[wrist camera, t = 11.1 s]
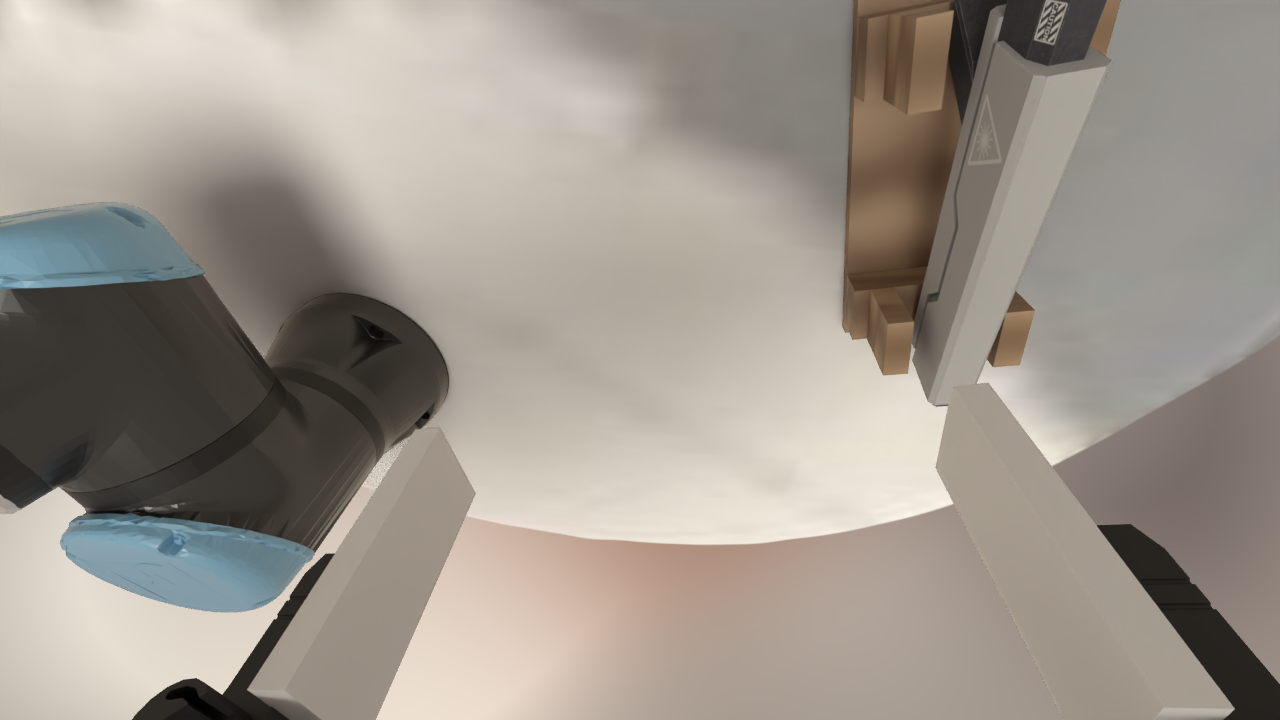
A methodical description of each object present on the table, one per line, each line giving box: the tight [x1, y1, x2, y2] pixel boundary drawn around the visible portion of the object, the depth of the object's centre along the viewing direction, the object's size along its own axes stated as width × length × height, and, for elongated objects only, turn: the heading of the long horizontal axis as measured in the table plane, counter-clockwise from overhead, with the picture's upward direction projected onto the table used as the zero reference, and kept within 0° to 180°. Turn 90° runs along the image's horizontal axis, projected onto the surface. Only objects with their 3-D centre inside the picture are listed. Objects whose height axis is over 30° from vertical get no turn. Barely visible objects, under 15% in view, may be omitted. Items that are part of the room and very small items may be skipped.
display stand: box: [843, 0, 1121, 375], centre depth 31 cm, size 22×10×8 cm, turn 11°
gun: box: [912, 0, 1112, 407], centre depth 28 cm, size 2×25×10 cm, turn 11°
